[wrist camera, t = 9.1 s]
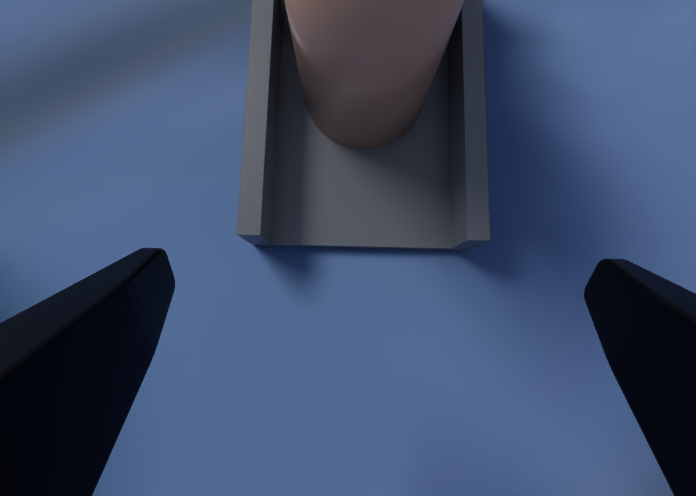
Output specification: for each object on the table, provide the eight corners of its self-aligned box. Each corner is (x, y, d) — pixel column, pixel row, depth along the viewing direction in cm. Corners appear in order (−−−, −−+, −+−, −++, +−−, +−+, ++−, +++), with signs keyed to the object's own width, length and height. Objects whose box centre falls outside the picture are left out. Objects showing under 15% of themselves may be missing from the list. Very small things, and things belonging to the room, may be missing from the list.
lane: (468, 250, 19) (529, 223, 13) (253, 245, 19) (208, 215, 13) (461, -12, 22) (511, -145, 15) (269, -17, 22) (237, -153, 15)
